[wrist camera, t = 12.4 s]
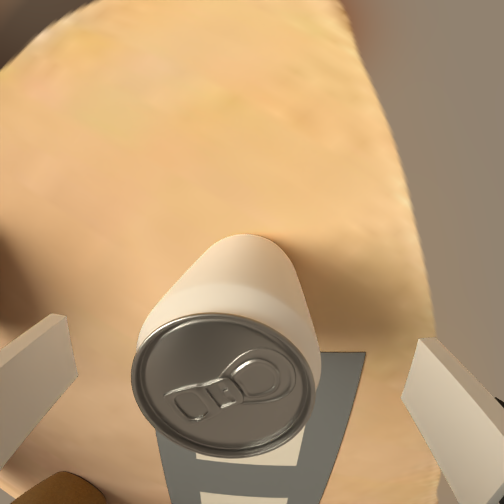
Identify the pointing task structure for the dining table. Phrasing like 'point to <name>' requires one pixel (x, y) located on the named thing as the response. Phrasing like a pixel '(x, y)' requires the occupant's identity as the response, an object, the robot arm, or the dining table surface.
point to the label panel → (273, 452)
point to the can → (230, 353)
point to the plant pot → (62, 491)
